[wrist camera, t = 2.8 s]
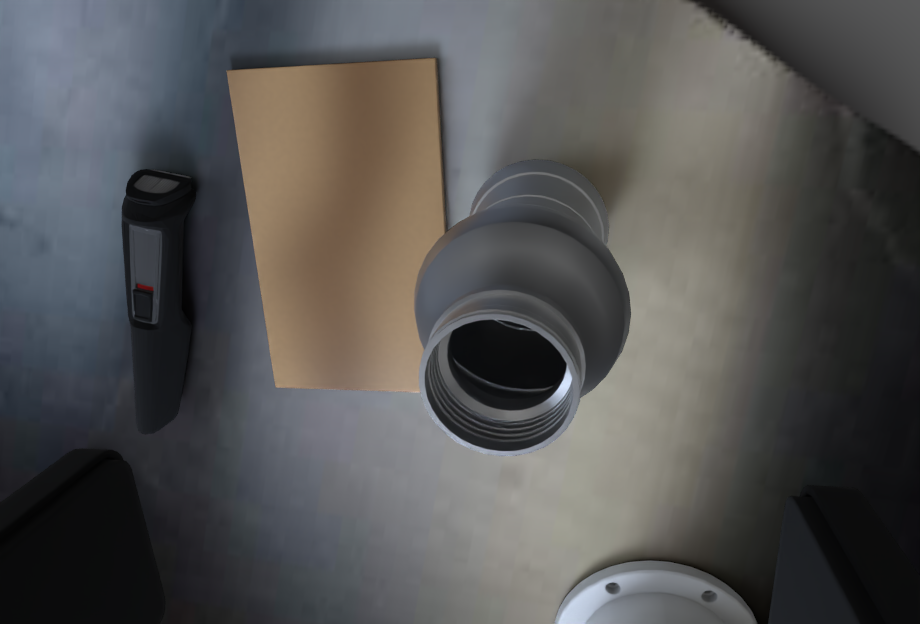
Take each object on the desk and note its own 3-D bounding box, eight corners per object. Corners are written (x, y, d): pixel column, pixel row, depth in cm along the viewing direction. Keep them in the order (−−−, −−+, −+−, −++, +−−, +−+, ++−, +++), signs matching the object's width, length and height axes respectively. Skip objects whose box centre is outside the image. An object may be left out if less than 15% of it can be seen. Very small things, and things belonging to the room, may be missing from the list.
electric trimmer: (143, 403, 41) (111, 428, 38) (140, 165, 36) (101, 173, 33) (197, 417, 41) (168, 443, 38) (202, 179, 35) (169, 188, 32)
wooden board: (437, 57, 31) (435, 57, 31) (455, 390, 37) (453, 394, 37) (230, 70, 33) (225, 70, 33) (278, 384, 39) (275, 387, 38)
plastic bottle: (501, 134, 32) (398, 199, 13) (628, 182, 32) (705, 316, 13) (459, 251, 34) (322, 445, 16) (577, 297, 34) (581, 549, 15)
